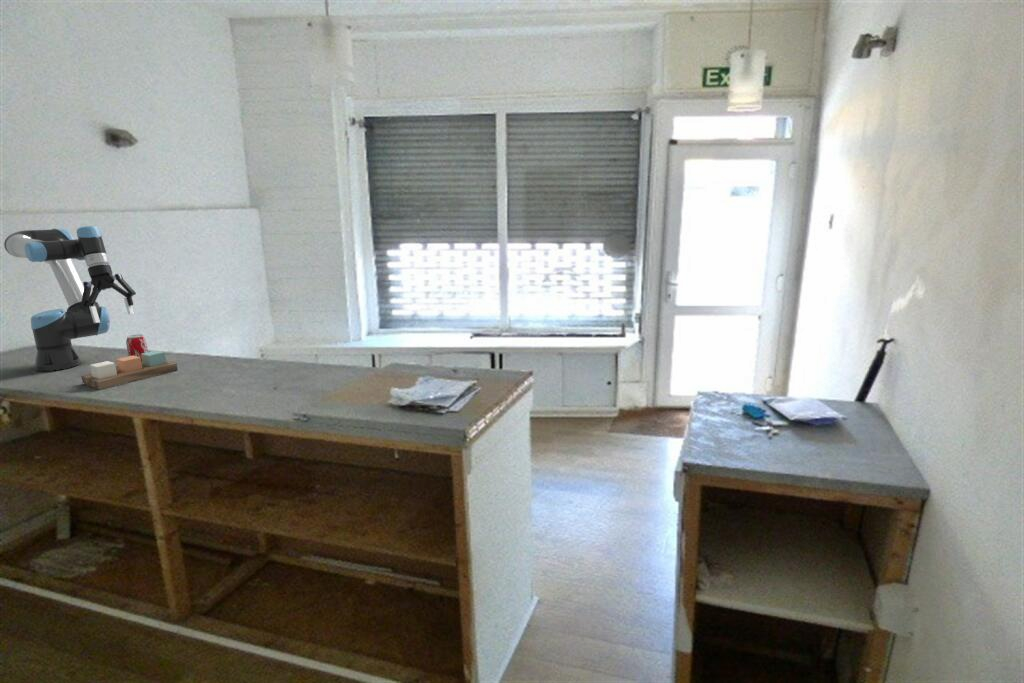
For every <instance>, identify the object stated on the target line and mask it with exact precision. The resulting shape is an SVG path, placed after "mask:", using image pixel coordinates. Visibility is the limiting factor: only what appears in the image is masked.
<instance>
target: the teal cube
mask: <svg viewBox="0 0 1024 683" xmlns="http://www.w3.org/2000/svg"><path fill="white" fill-rule="evenodd" d="M141 356H142V361H143V365H144V366H147V367H153V366H157V365H162V364H166V361H167V359H166V354H165V351H161V350H158V349H157V350H152V351H148V352H147V353H142V354H141Z"/></svg>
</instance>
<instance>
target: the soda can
mask: <svg viewBox="0 0 1024 683" xmlns="http://www.w3.org/2000/svg"><path fill="white" fill-rule="evenodd" d="M146 339H147V338H145V337H144V335H143V334H132V335H128V336H126V339H125V340H126V341H125V344H126V350H127V354H128V356H137V357H140V358H141V362H143V361H142V356H141V354H142V353H147V352H149V349H148V344H147V340H146ZM128 356H127V357H128Z"/></svg>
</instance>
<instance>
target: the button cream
mask: <svg viewBox="0 0 1024 683" xmlns="http://www.w3.org/2000/svg"><path fill="white" fill-rule="evenodd" d="M89 368H90V374H92V377H93V378H96V379H102V378H106V377H110V376H115V375H117V371H116V368H117V366H116V362H113V361H109V360H106V361H102V362H98V363H97V362H96V363H92V364H89Z"/></svg>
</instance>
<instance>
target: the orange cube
mask: <svg viewBox="0 0 1024 683" xmlns="http://www.w3.org/2000/svg"><path fill="white" fill-rule="evenodd" d="M115 360H116V363H117V364H116V365H117V368H118V371H120V372H123V373H127V372H132V371H136V370H140V369H142V363H141V358H140V357H137V356H123V357H120V358H116V359H115Z"/></svg>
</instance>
